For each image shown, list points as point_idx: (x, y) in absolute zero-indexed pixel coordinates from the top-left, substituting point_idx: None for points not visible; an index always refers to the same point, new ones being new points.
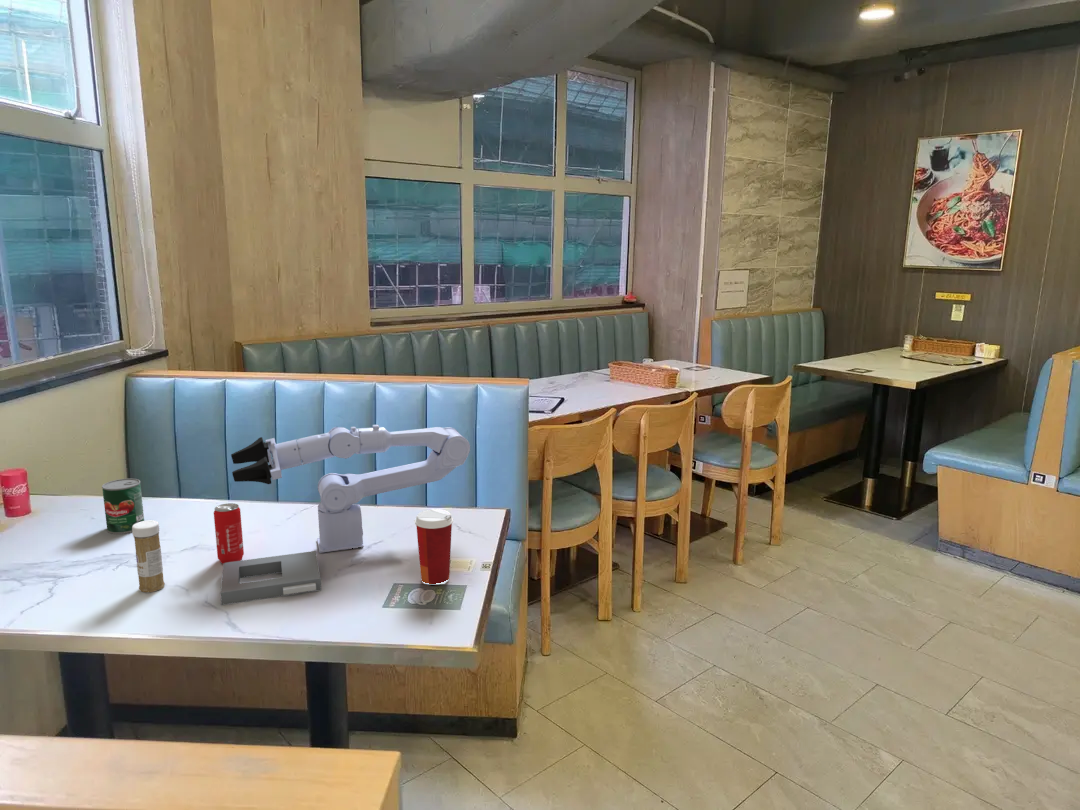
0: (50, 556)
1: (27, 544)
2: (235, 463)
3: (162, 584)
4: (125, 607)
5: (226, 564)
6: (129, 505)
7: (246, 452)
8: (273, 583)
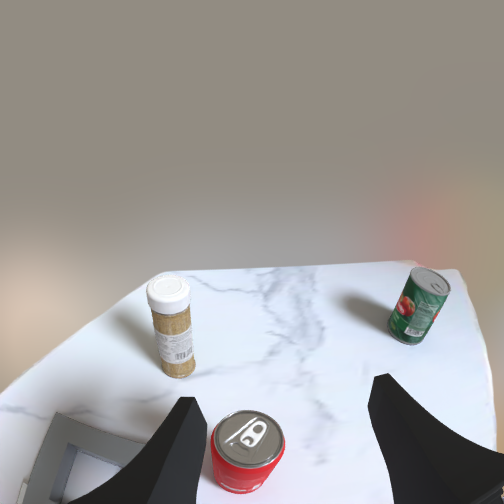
0: (328, 285)
1: (360, 271)
2: (369, 413)
3: (168, 372)
4: (139, 338)
5: None
6: (409, 308)
7: (403, 438)
8: (36, 478)
